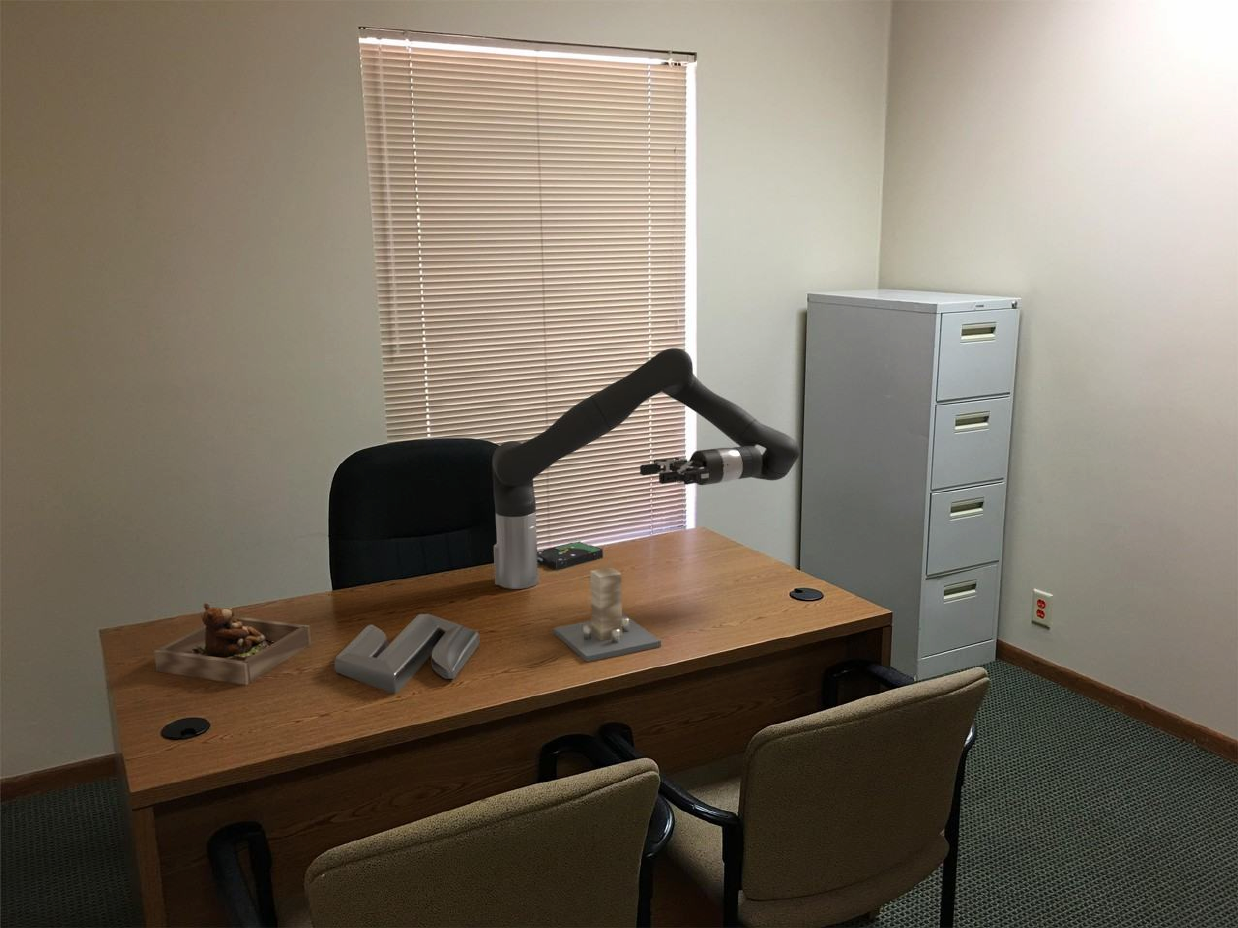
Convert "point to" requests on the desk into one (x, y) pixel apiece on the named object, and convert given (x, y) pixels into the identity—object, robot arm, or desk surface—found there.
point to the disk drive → (568, 555)
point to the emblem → (407, 652)
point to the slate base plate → (606, 640)
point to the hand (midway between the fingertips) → (650, 474)
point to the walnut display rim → (184, 662)
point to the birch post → (606, 602)
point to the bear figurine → (228, 636)
